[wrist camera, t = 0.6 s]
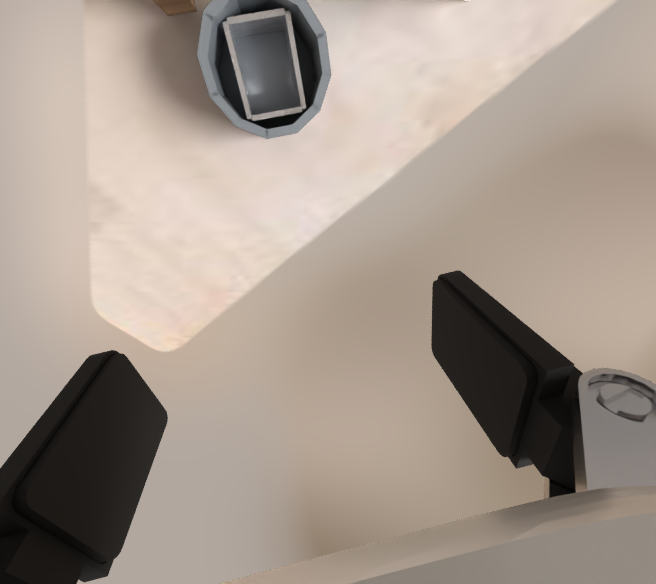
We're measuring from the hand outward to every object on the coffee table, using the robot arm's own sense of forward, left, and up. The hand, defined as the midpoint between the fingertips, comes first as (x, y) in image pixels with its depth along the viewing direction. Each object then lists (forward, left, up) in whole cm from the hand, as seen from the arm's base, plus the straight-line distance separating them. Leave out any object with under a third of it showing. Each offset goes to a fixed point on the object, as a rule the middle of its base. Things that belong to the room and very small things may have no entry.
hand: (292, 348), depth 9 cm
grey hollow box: (-10, +1, -28) cm, 29 cm away
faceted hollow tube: (-10, +1, -28) cm, 29 cm away
